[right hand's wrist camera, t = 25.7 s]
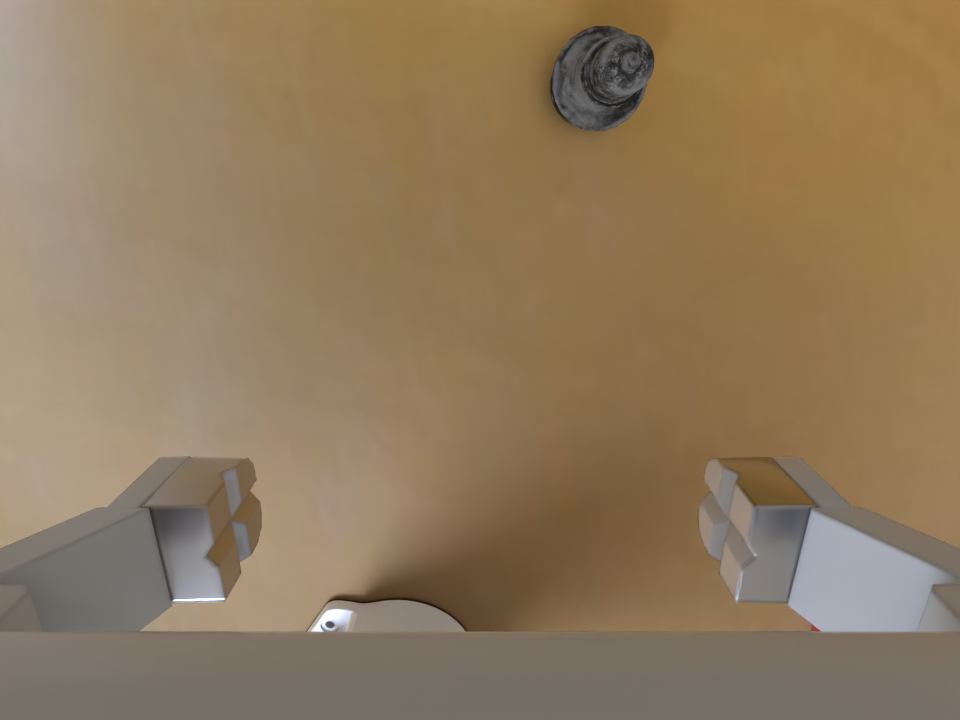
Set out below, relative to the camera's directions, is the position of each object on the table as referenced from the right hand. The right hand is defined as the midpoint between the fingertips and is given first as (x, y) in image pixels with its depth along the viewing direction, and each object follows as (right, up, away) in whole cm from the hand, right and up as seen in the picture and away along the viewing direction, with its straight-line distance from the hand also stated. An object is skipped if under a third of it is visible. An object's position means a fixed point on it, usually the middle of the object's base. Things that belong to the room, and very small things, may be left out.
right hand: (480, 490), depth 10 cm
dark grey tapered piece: (+7, +21, +28) cm, 36 cm away
